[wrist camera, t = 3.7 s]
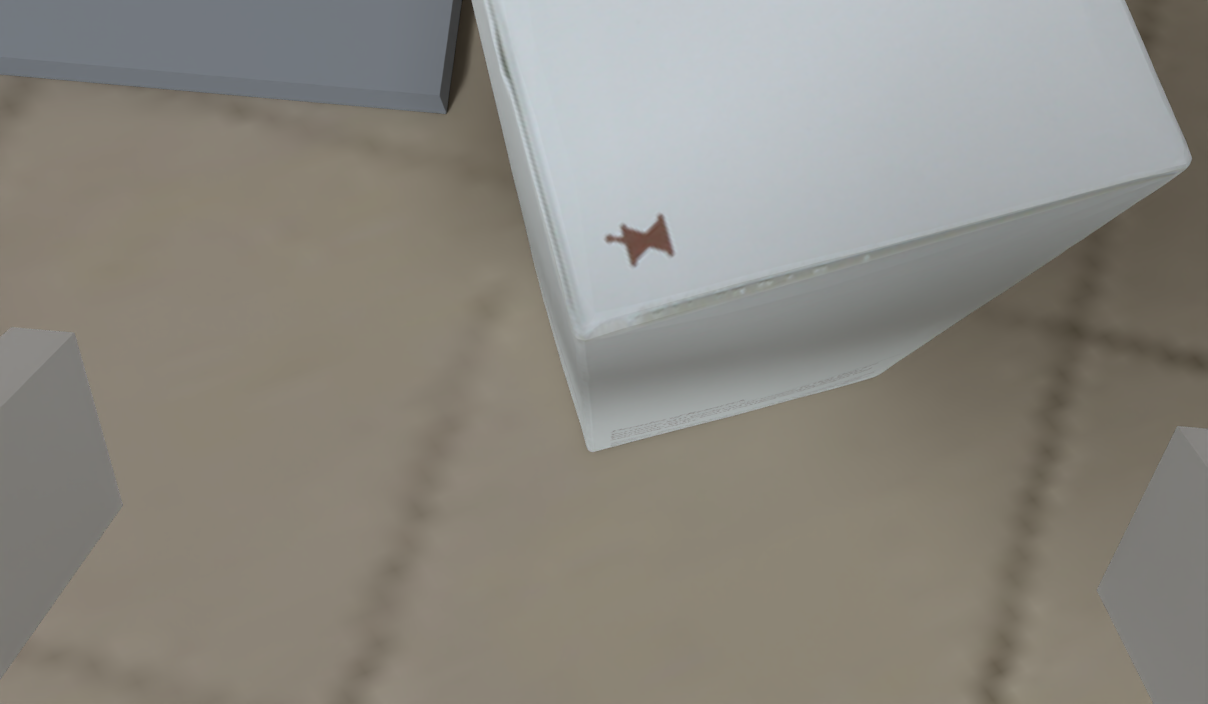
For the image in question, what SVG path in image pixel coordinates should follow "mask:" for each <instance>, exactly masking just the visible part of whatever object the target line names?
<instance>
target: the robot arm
mask: <svg viewBox="0 0 1208 704" xmlns="http://www.w3.org/2000/svg"><path fill="white" fill-rule="evenodd" d="M122 506H123V504H122V500H121V496H120V493H119V489H118V486H117V482H116V479H115V475H114V472H113V468H112V464H111V461H110V457H109V454H108V450H107V447H106V443H105V440H104V436H103V432H102V429H101V425H100V422H99V418H98V415H97V411H96V407H95V404H94V400H93V397H92V393H91V390H90V386H89V383H88V379H87V375H86V372H85V368H84V365H83V361H82V358H81V354H80V350H79V347H78V343H77V340H76V336H75V333H73V332H61V331H50V330H38V329H26V328H14V327H11V328H10V329H9V330H8V331H6V332H5V333H4V334H3V335H2V336H1V337H0V679H1V678H2V676H3V675H4V673H5V672H6V671H7V669H8V668H9V666H10V665H11V664H12V662H13V661H14V659H15V658H16V656H17V655H18V654H19V652H20V651H21V649H22V648H23V646H24V645H25V644H26V642H27V641H28V639H29V638H30V637H31V635H32V634H33V632H34V631H35V629H36V628H37V627H38V625H39V624H40V622H41V621H42V620H43V618H44V617H45V615H46V614H47V612H48V611H49V610H50V608H51V607H52V605H53V604H54V602H55V601H56V600H57V598H58V597H59V595H60V594H61V593H62V591H63V590H64V588H65V587H66V585H67V584H68V583H69V581H70V580H71V578H72V577H73V575H74V574H75V573H76V571H77V570H78V568H79V567H80V566H81V564H82V563H83V561H84V560H85V558H86V557H87V556H88V554H89V553H90V551H91V550H92V549H93V547H94V546H95V544H96V543H97V541H98V540H99V539H100V537H101V536H102V534H103V533H104V531H105V530H106V529H107V527H108V526H109V524H110V523H111V522H112V520H113V519H114V517H115V516H116V514H117V513H118V512H119V510H120V509H121V507H122ZM1097 592H1098V594H1099V596H1100V598H1101V600H1102V602H1103V604H1104V606H1105V608H1106V610H1107V612H1108V614H1109V616H1110V618H1111V620H1112V622H1113V624H1114V626H1115V628H1116V630H1117V632H1118V634H1119V636H1120V638H1121V640H1122V642H1123V644H1124V646H1125V648H1126V650H1127V652H1128V654H1129V656H1130V658H1131V660H1132V662H1133V664H1134V666H1135V668H1136V670H1137V672H1138V674H1139V676H1140V678H1141V680H1142V682H1143V684H1144V686H1145V688H1146V690H1147V692H1148V694H1149V696H1150V698H1151V700H1152V702H1153V704H1208V429H1205V428H1193V427H1182V426H1177V428H1176V430H1175V432H1174V434H1173V436H1172V438H1171V440H1170V442H1169V444H1168V446H1167V448H1166V450H1165V452H1164V454H1163V456H1162V458H1161V460H1160V462H1159V464H1158V466H1157V468H1156V470H1155V472H1154V475H1153V477H1152V479H1151V481H1150V483H1149V485H1148V487H1147V489H1146V491H1145V493H1144V495H1143V497H1142V499H1141V501H1140V503H1139V505H1138V507H1137V509H1136V511H1135V513H1134V515H1133V517H1132V519H1131V521H1130V523H1129V525H1128V527H1127V529H1126V531H1125V534H1124V536H1123V538H1122V540H1121V542H1120V544H1119V546H1118V548H1117V550H1116V552H1115V554H1114V556H1113V558H1112V560H1111V562H1110V564H1109V566H1108V568H1107V570H1106V572H1105V574H1104V576H1103V578H1102V580H1101V582H1100V584H1099V586H1098V588H1097Z"/></svg>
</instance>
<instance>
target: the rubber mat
mask: <svg viewBox="0 0 1208 704" xmlns="http://www.w3.org/2000/svg"><path fill="white" fill-rule="evenodd" d="M461 4H462V0H0V74H2V75H14V76H25V77H36V78H48V79H59V80H70V81H81V82H93V83H104V84H115V85H126V86H138V87H149V88H160V89H172V90H183V91H194V92H205V93H217V94H228V95H239V96H250V97H262V98H273V99H284V100H296V101H307V102H318V103H329V104H341V105H352V106H363V107H374V108H386V109H397V110H408V111H420V112H431V113H442V114H446V113H447V106H448V98H449V91H450V84H451V77H452V69H453V62H454V55H455V47H456V40H457V33H458V26H459V18H460V11H461Z"/></svg>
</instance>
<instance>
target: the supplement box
mask: <svg viewBox="0 0 1208 704" xmlns="http://www.w3.org/2000/svg"><path fill="white" fill-rule="evenodd" d="M472 4H473V9H474V13H475V17H476V21H477V26H478V30H479V34H480V38H481V43H482V47H483V51H484V55H485V59H486V64H487V68H488V72H489V76H490V80H491V85H492V89H493V93H494V97H495V102H496V106H497V110H498V114H499V118H500V123H501V127H502V131H503V135H504V140H505V144H506V148H507V152H508V157H509V161H510V165H511V170H512V174H513V178H514V182H515V186H516V190H517V194H518V198H519V202H520V206H521V210H522V214H523V219H524V223H525V227H526V231H527V236H528V240H529V244H530V248H531V253H532V257H533V261H534V265H535V269H536V273H537V277H538V280H539V284H540V288H541V292H542V296H543V300H544V303H545V307H546V310H547V314H548V317H549V321H550V324H551V328H552V331H553V335H554V339H555V342H556V346H557V349H558V353H559V356H560V360H561V363H562V366H563V370H564V373H565V376H566V379H567V382H568V386H569V389H570V392H571V395H572V399H573V402H574V405H575V408H576V411H577V415H578V418H579V421H580V424H581V428H582V431H583V434H584V438H585V442H586V446H587V449H588V450H589V451H591V452H595V451H598V450H602V449H606V448H610V447H614V446H617V445H621V444H625V443H629V442H633V441H636V440H640V439H644V438H648V437H652V436H655V435H659V434H663V433H667V432H671V431H675V430H679V429H683V428H687V427H691V426H695V425H699V424H703V423H706V422H710V421H714V420H718V419H722V418H726V417H730V416H734V415H738V414H741V413H745V412H749V411H752V410H756V409H760V408H763V407H767V406H770V405H774V404H778V403H781V402H785V401H789V400H792V399H796V398H800V397H804V396H808V395H812V394H815V393H819V392H823V391H827V390H830V389H834V388H838V387H841V386H845V385H848V384H852V383H856V382H859V381H862V380H866V379H869V378H873V377H876V376H877V375H879V374H881V373H883V372H884V371H886V370H887V369H888V368H890V367H891V366H892V365H894V364H895V363H897V362H898V361H900V360H901V359H903V358H904V357H906V356H908V355H909V354H911V353H912V352H913V351H915V350H917V349H918V348H920V347H921V346H923V345H924V344H926V343H927V342H929V341H930V340H932V339H933V338H934V337H935V336H937V335H939V334H940V333H942V332H943V331H945V330H946V329H948V328H949V327H951V326H952V325H954V324H955V323H957V322H958V321H960V320H962V319H963V318H965V317H966V316H968V315H969V314H971V313H972V312H973V311H975V310H976V309H978V308H980V307H981V306H983V305H985V304H986V303H988V302H989V301H991V300H992V299H994V298H995V297H997V296H999V295H1000V294H1002V293H1003V292H1005V291H1006V290H1008V289H1009V288H1011V287H1012V286H1014V285H1015V284H1017V283H1018V282H1020V281H1021V280H1023V279H1024V278H1026V277H1027V276H1029V275H1030V274H1032V273H1033V272H1035V271H1036V270H1038V269H1039V268H1041V267H1042V266H1044V265H1045V264H1047V263H1048V262H1050V261H1051V260H1053V259H1054V258H1055V257H1057V256H1058V255H1060V254H1061V253H1063V252H1064V251H1065V250H1067V249H1069V248H1070V247H1072V246H1073V245H1075V244H1076V243H1078V242H1079V241H1081V240H1083V239H1084V238H1086V237H1087V236H1088V235H1090V234H1091V233H1093V232H1094V231H1096V230H1097V229H1099V228H1100V227H1102V226H1103V225H1105V224H1106V223H1108V222H1109V221H1111V220H1112V219H1113V218H1115V217H1116V216H1118V215H1119V214H1121V213H1122V212H1124V211H1126V210H1127V209H1129V208H1130V207H1131V206H1133V205H1134V204H1136V203H1137V202H1139V201H1140V200H1142V199H1144V198H1145V197H1147V196H1148V195H1150V194H1151V193H1153V192H1154V191H1156V190H1157V189H1159V188H1160V187H1162V186H1163V185H1165V184H1166V183H1168V182H1169V181H1170V180H1172V179H1173V178H1174V177H1176V176H1177V175H1179V174H1180V173H1181V172H1183V171H1184V170H1185V169H1186V168H1187V167H1188V166H1189V165H1190V163H1191V160H1192V157H1191V154H1190V151H1189V148H1188V145H1187V143H1186V140H1185V138H1184V136H1183V133H1182V131H1181V129H1180V127H1179V125H1178V122H1177V120H1176V118H1175V116H1174V113H1173V111H1172V108H1171V106H1170V104H1169V101H1168V99H1167V97H1166V95H1165V92H1164V90H1163V88H1162V86H1161V83H1160V81H1159V79H1158V76H1157V74H1156V72H1155V69H1154V67H1153V65H1152V62H1151V60H1150V57H1149V55H1148V53H1147V50H1146V48H1145V46H1144V43H1143V41H1142V39H1141V36H1140V34H1139V32H1138V29H1137V27H1136V25H1135V22H1134V20H1133V18H1132V15H1131V13H1130V11H1129V8H1128V6H1127V4H1126V2H1125V0H472Z"/></svg>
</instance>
